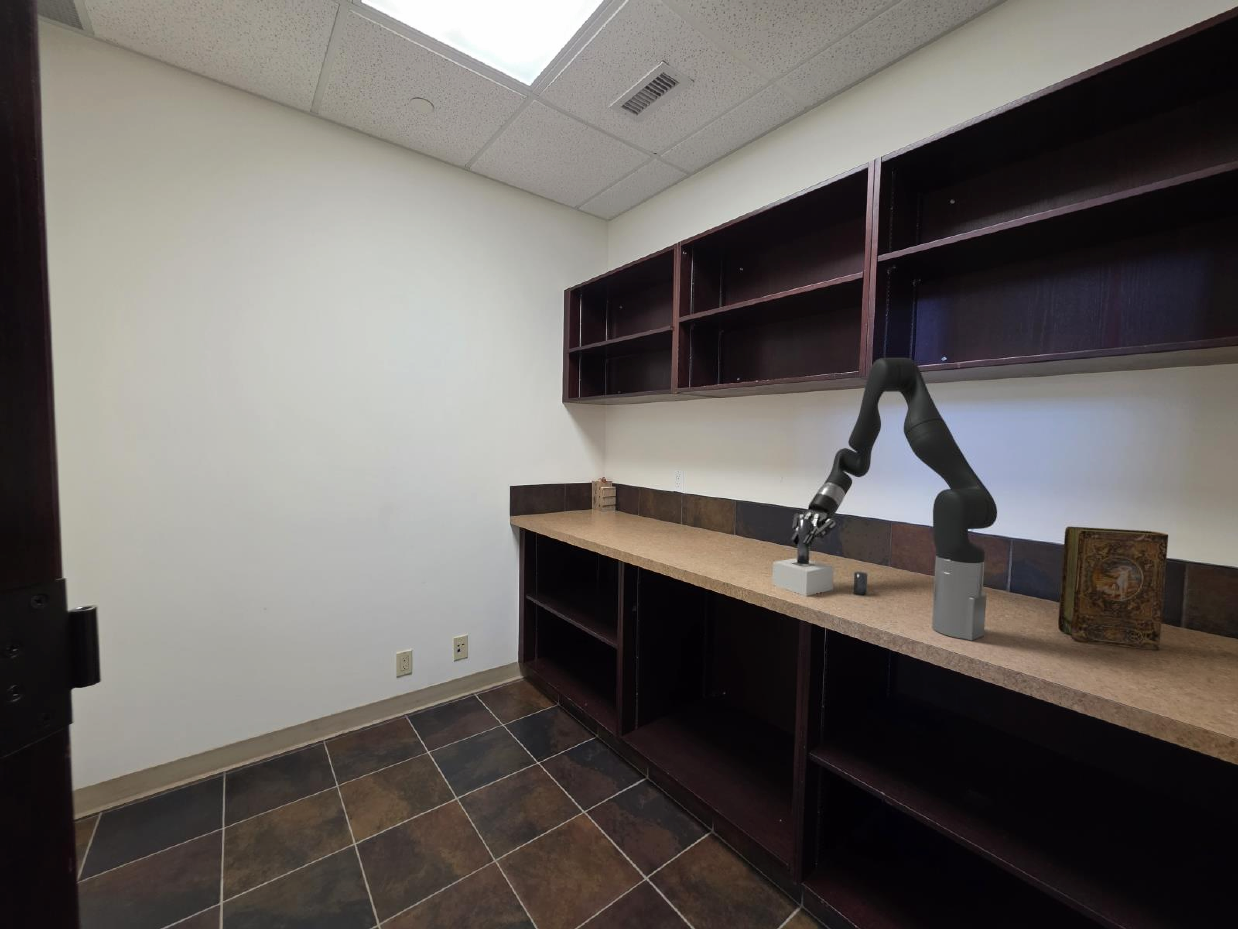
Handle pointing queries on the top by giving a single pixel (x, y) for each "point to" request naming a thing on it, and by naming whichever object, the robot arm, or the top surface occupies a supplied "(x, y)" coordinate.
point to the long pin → (803, 531)
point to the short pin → (860, 583)
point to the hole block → (803, 576)
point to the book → (1113, 586)
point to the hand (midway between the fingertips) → (799, 544)
